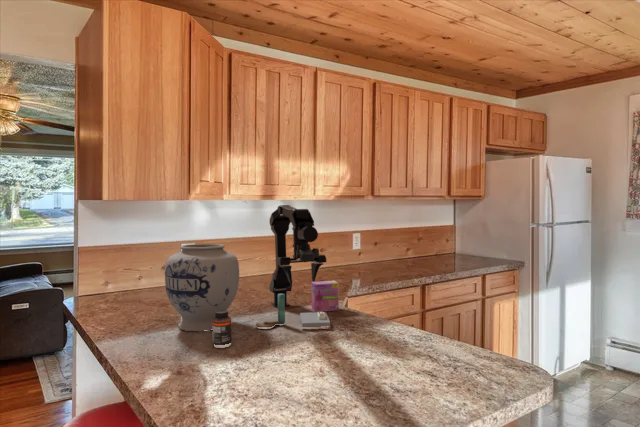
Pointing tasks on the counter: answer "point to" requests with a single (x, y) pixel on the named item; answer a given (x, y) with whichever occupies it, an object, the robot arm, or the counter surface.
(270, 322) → the crank handle
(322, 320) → the stand
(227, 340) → the supplement bottle
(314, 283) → the box
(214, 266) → the apothecary jar
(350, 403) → the counter surface
